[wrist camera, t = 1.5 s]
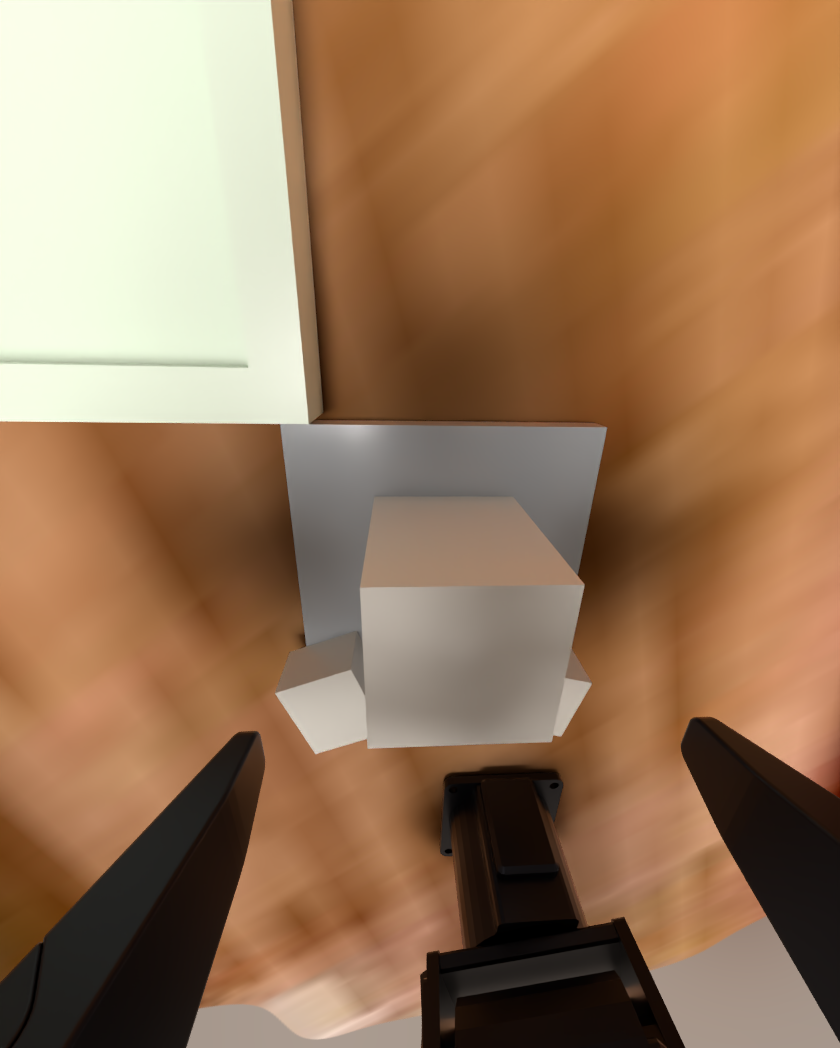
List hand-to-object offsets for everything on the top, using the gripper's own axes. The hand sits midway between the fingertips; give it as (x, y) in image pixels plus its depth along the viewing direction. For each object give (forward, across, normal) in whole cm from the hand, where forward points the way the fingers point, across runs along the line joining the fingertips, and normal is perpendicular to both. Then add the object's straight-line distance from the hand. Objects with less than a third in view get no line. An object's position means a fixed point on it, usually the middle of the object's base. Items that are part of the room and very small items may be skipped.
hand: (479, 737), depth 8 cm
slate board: (+9, 0, +1) cm, 9 cm away
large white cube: (+8, 0, 0) cm, 8 cm away
